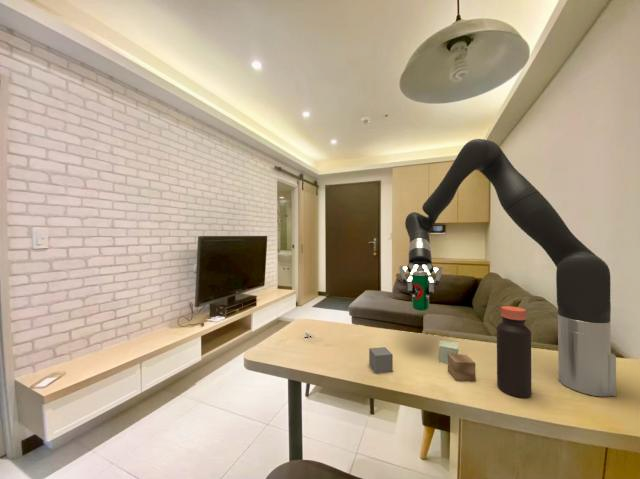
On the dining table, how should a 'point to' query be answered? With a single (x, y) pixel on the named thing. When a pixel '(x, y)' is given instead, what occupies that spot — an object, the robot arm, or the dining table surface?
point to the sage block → (447, 350)
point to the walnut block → (461, 367)
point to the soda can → (420, 290)
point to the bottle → (514, 353)
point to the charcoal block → (381, 360)
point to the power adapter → (308, 334)
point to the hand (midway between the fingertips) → (420, 293)
